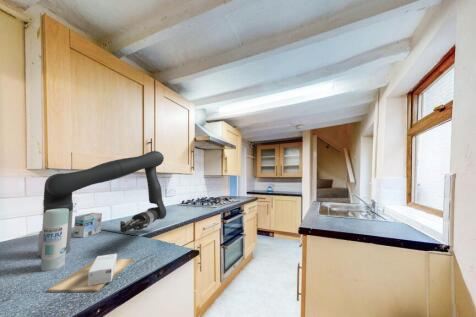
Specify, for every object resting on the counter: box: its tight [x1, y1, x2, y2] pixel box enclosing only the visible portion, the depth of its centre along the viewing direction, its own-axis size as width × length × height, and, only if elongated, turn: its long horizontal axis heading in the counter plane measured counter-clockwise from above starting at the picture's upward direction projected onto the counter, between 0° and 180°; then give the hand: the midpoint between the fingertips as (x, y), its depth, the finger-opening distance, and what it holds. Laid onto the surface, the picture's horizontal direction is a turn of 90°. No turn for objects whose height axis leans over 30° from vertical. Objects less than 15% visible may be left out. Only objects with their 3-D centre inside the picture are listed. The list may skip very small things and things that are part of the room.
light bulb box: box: [73, 212, 103, 238], centre depth 108 cm, size 11×7×11 cm, turn 168°
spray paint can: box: [40, 208, 69, 272], centre depth 71 cm, size 6×6×20 cm
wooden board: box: [46, 258, 135, 293], centre depth 66 cm, size 14×20×1 cm
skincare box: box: [88, 253, 118, 286], centre depth 64 cm, size 6×4×12 cm
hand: (122, 229), depth 80 cm, fingers closed
